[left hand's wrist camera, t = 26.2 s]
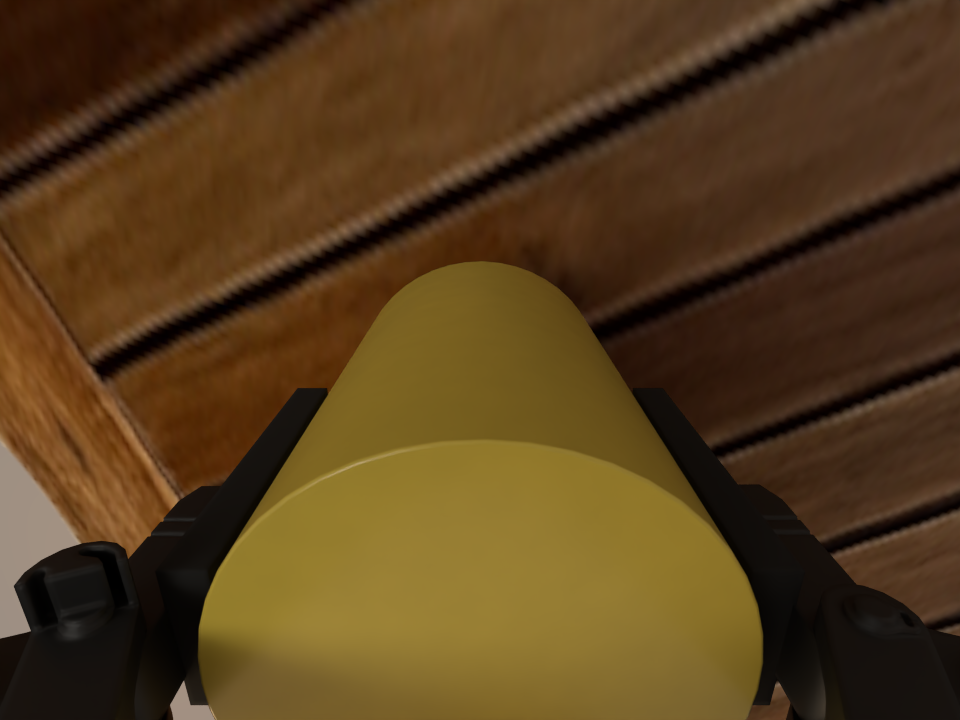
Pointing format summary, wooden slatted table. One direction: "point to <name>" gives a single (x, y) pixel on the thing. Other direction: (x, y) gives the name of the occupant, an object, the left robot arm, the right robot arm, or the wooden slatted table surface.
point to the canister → (480, 537)
